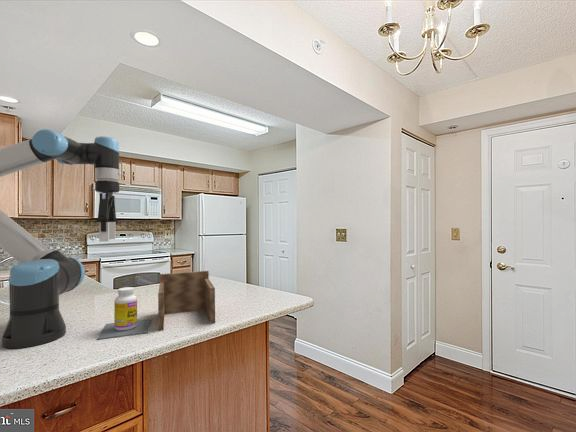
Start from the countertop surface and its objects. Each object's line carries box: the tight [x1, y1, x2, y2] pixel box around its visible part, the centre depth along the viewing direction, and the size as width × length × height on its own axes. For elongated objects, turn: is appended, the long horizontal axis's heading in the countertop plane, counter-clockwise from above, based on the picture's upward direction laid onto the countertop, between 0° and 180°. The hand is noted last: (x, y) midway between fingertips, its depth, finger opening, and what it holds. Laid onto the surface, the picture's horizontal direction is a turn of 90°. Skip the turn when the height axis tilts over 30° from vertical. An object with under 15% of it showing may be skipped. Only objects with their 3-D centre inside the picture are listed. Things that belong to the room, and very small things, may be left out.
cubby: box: [157, 270, 216, 331], centre depth 111 cm, size 18×20×15 cm
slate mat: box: [96, 318, 152, 341], centre depth 101 cm, size 14×14×1 cm
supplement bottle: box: [113, 286, 138, 331], centre depth 101 cm, size 7×7×13 cm
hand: (107, 240), depth 110 cm, fingers open, 13 cm apart
